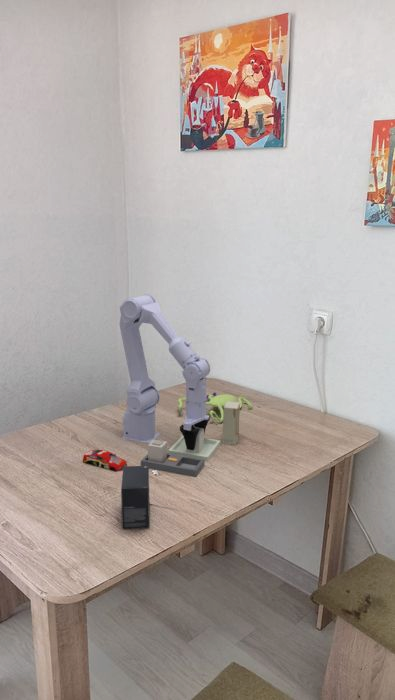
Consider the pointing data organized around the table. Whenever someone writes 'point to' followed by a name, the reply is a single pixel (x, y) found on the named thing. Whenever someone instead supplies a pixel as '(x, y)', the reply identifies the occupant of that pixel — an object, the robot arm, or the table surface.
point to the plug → (198, 441)
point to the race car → (104, 460)
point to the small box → (135, 497)
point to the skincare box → (231, 423)
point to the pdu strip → (176, 464)
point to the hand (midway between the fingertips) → (195, 444)
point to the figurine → (218, 403)
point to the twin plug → (157, 451)
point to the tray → (204, 454)
